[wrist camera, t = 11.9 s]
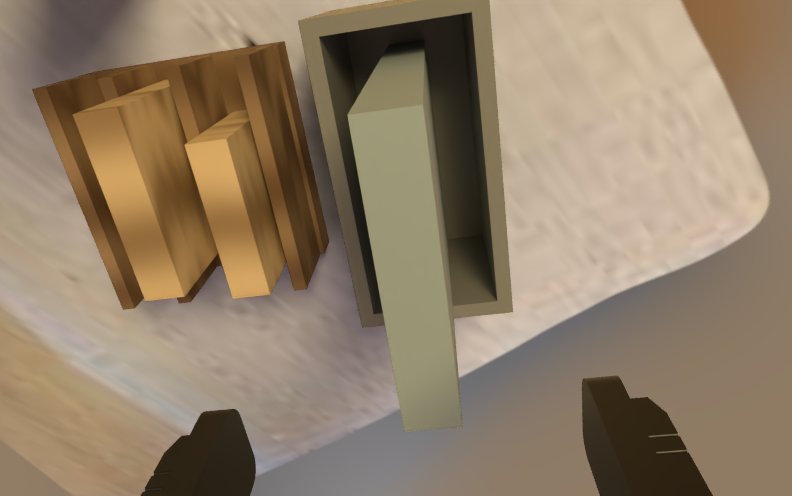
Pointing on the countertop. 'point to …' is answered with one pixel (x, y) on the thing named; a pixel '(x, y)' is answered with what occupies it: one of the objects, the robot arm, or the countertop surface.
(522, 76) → the countertop surface
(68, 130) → the rack
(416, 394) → the tall sheet
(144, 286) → the oak offcut
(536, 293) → the countertop surface
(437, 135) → the bin
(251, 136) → the beech offcut
